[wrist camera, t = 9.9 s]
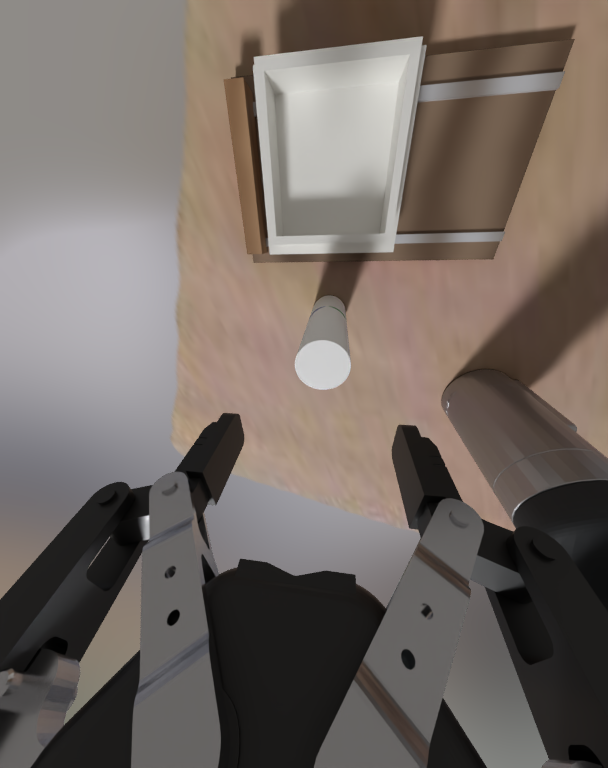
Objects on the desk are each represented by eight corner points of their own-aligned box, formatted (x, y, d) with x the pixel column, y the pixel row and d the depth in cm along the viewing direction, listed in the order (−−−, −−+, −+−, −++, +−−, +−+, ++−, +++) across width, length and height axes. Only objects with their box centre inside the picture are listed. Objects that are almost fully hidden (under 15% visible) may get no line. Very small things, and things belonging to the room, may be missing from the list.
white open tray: (413, 73, 18) (444, 7, 13) (387, 250, 24) (400, 254, 19) (264, 88, 19) (237, 35, 14) (276, 252, 26) (261, 256, 21)
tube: (344, 328, 31) (348, 390, 19) (312, 328, 32) (296, 388, 19) (346, 295, 29) (352, 340, 16) (312, 295, 29) (293, 339, 17)
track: (563, 48, 17) (607, 11, 15) (488, 258, 25) (507, 261, 22) (235, 84, 20) (218, 59, 18) (256, 261, 28) (247, 264, 25)
